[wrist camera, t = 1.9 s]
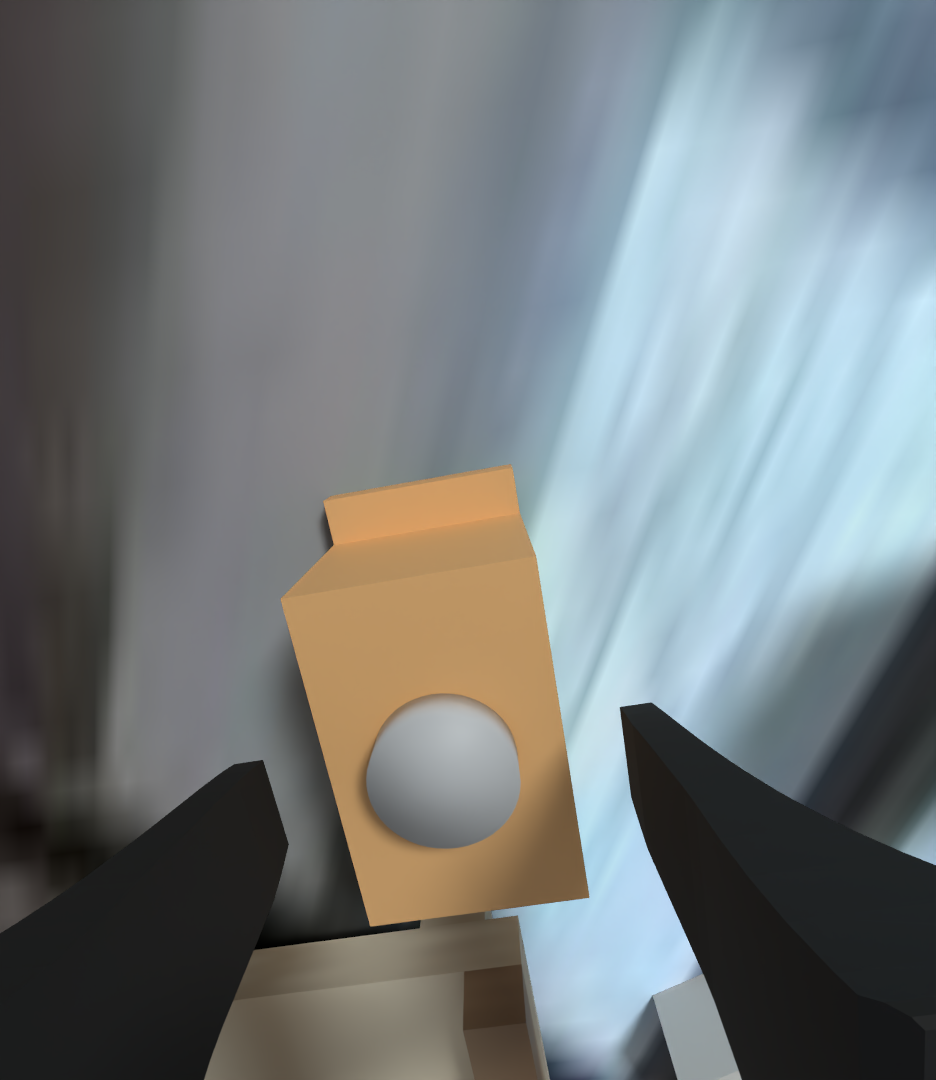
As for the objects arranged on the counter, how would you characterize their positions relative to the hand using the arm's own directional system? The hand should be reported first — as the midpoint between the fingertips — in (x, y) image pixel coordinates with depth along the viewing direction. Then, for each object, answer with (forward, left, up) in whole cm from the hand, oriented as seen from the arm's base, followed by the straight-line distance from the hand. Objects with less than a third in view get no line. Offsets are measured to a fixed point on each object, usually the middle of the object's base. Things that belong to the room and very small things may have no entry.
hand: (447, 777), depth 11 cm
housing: (0, 0, -6) cm, 6 cm away
